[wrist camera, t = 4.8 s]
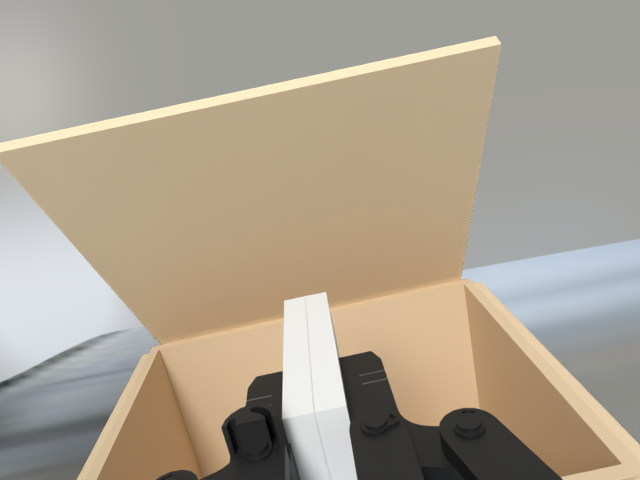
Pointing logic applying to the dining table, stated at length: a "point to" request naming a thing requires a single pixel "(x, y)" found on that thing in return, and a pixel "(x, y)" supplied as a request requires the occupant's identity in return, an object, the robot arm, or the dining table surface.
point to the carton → (403, 375)
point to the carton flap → (274, 190)
